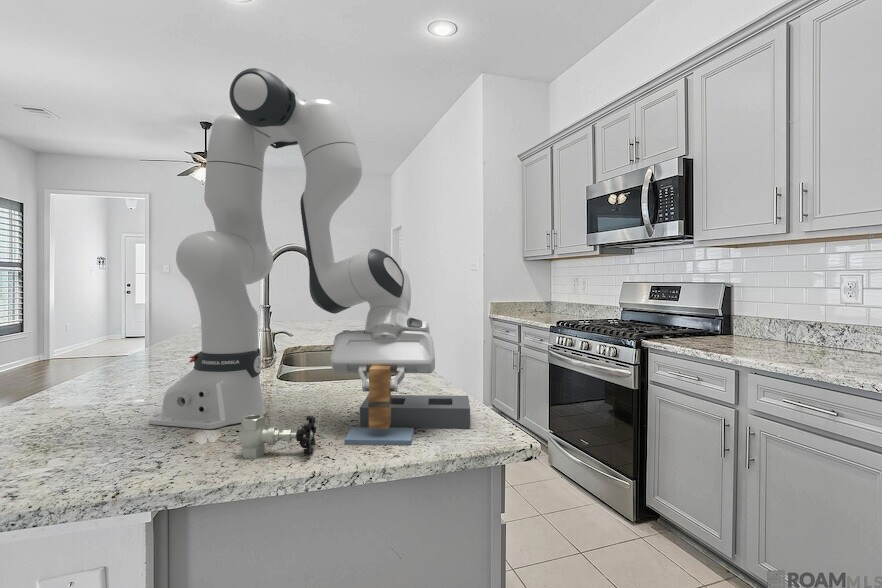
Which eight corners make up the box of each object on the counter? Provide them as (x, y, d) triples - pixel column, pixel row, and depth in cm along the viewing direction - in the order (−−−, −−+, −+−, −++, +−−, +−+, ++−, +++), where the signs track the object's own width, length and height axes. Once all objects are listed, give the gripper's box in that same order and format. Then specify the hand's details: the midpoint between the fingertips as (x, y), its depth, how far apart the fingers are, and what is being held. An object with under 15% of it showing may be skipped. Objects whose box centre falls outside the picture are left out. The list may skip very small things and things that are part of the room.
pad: (344, 444, 86) (344, 439, 86) (352, 431, 93) (352, 427, 93) (411, 444, 85) (411, 440, 85) (413, 432, 92) (413, 427, 92)
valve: (233, 463, 77) (309, 461, 78) (233, 423, 77) (308, 421, 78) (247, 448, 84) (316, 447, 85) (246, 411, 83) (316, 410, 84)
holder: (359, 427, 95) (359, 407, 95) (368, 412, 105) (368, 394, 105) (470, 428, 95) (470, 408, 95) (467, 413, 105) (468, 395, 105)
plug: (368, 428, 87) (368, 369, 87) (371, 422, 91) (371, 365, 90) (388, 429, 87) (389, 369, 87) (391, 422, 91) (391, 365, 90)
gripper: (333, 320, 95) (320, 380, 86) (435, 321, 95) (434, 381, 86) (338, 340, 100) (327, 398, 91) (436, 340, 100) (434, 399, 90)
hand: (379, 390), depth 88 cm, fingers closed on plug, 3 cm apart
